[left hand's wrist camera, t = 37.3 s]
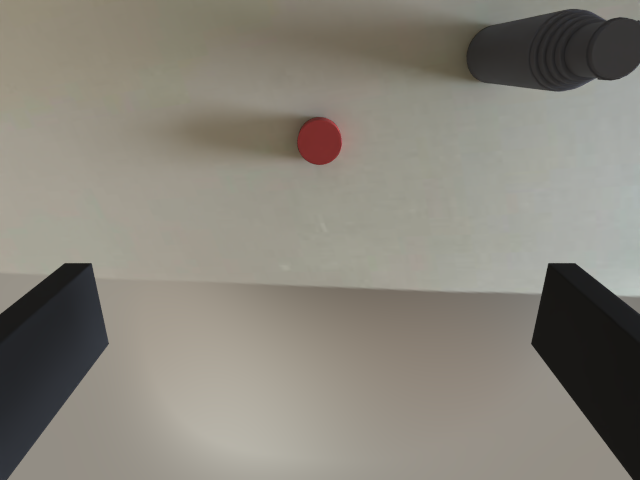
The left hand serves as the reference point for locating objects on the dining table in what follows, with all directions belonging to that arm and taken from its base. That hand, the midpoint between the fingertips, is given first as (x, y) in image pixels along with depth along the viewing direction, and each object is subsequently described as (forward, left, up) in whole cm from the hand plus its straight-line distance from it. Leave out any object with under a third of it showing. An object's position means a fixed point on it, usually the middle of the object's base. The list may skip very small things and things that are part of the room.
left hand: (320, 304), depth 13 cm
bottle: (+16, +6, -30) cm, 35 cm away
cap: (0, 0, -29) cm, 29 cm away
